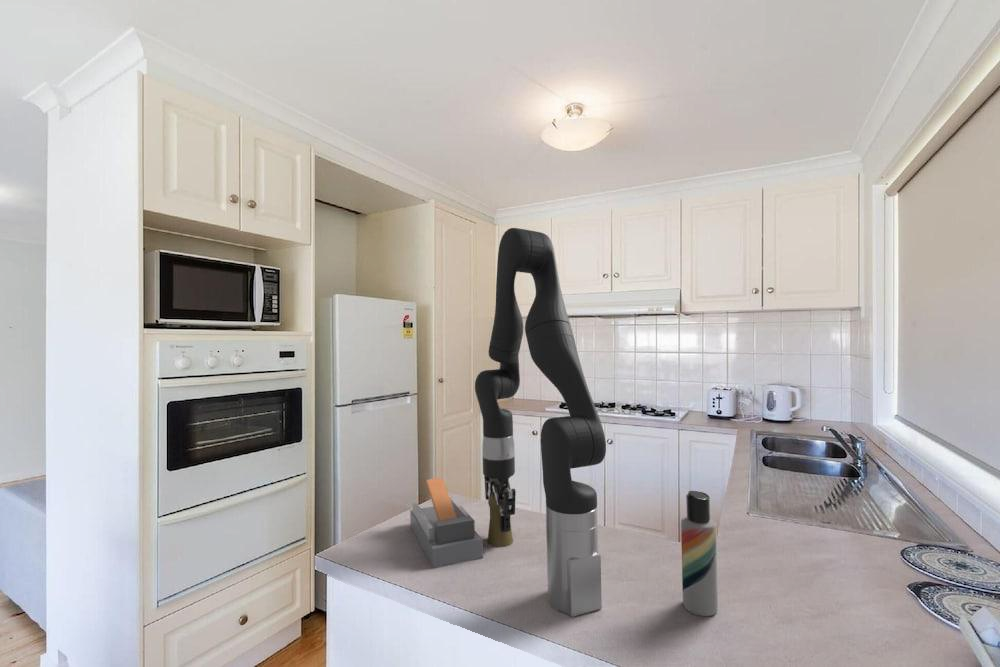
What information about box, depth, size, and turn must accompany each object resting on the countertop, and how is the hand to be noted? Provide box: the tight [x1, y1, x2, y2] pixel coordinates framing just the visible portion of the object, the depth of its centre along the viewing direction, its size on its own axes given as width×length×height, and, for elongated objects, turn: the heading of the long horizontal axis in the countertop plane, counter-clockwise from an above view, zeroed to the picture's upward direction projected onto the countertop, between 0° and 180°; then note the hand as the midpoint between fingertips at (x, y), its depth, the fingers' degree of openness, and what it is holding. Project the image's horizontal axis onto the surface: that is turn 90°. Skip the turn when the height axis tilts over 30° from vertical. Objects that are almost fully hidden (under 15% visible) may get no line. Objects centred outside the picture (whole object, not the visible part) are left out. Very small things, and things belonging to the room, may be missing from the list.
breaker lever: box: [426, 477, 457, 521], centre depth 112 cm, size 17×4×1 cm, turn 23°
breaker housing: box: [409, 496, 484, 569], centre depth 111 cm, size 24×11×8 cm, turn 22°
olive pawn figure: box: [487, 494, 514, 548], centre depth 110 cm, size 6×6×11 cm
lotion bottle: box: [680, 490, 719, 617], centre depth 82 cm, size 6×6×20 cm
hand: (500, 525), depth 110 cm, fingers open, 6 cm apart
